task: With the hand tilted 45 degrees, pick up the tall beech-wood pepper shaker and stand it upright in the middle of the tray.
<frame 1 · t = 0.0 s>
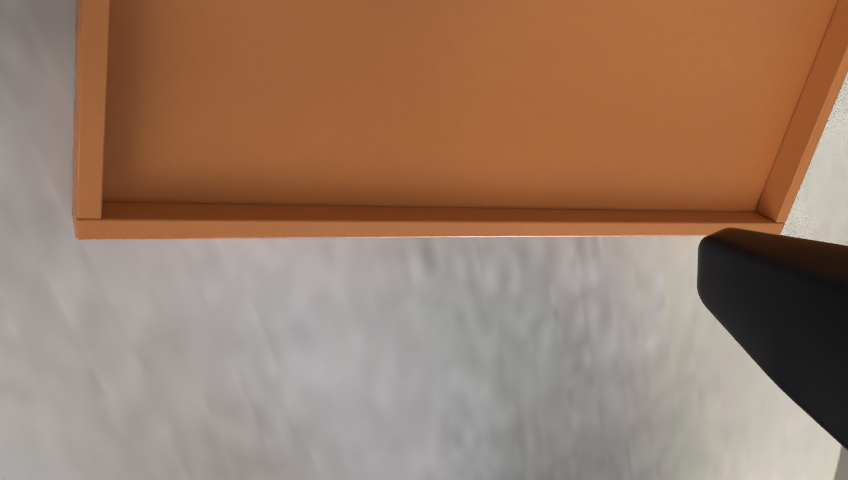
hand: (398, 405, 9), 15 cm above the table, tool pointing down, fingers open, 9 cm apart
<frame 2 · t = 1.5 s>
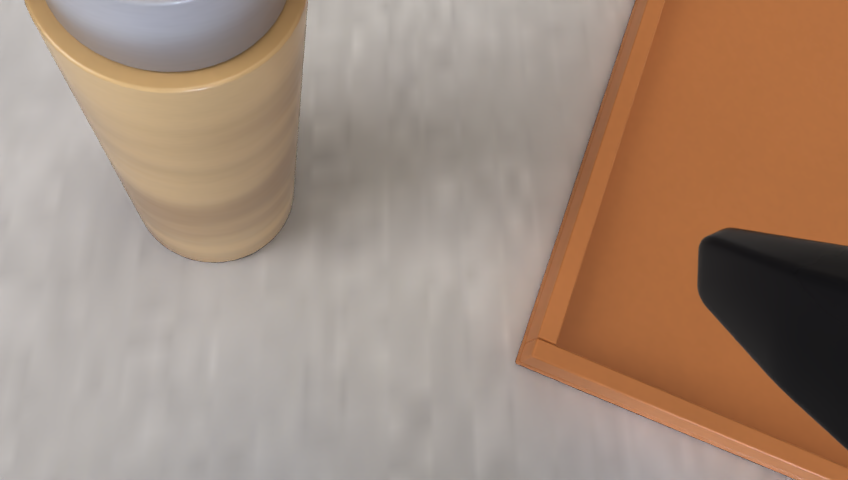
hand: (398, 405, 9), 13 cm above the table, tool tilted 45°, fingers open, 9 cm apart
shaker: (216, 188, 23), on the table
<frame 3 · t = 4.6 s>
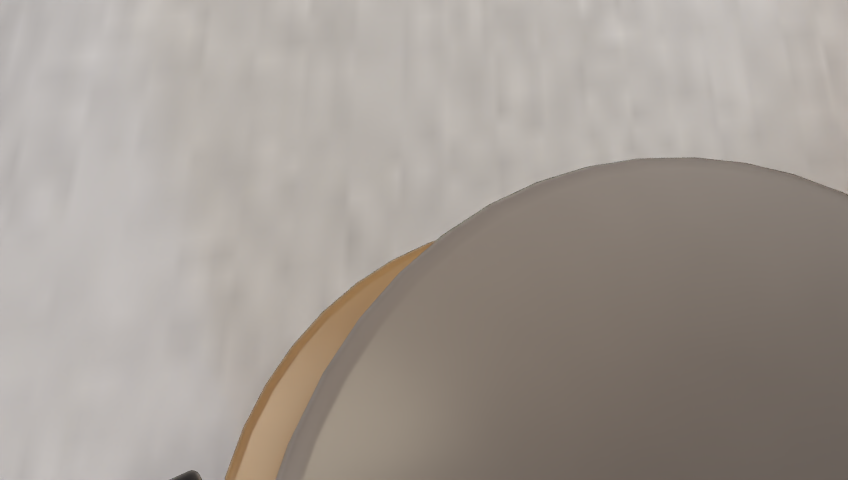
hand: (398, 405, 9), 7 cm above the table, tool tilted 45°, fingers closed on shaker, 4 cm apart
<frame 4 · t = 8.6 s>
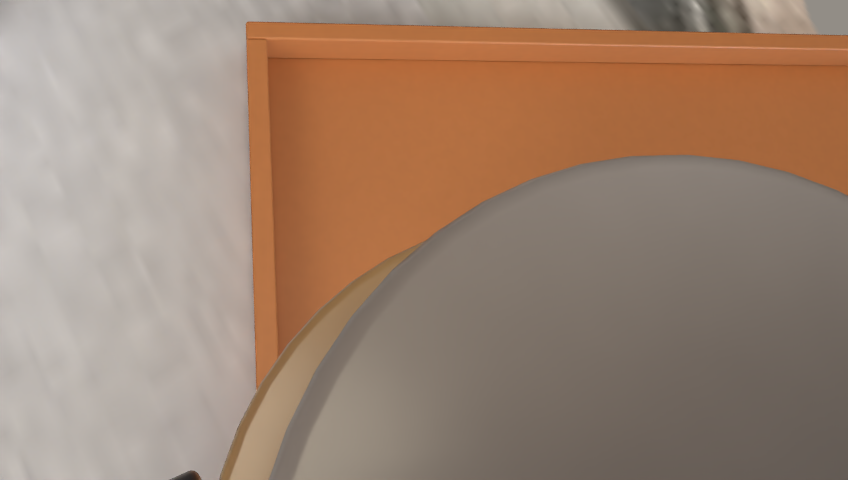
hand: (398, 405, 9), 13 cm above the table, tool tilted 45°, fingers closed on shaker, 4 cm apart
tray: (698, 383, 24), on the table
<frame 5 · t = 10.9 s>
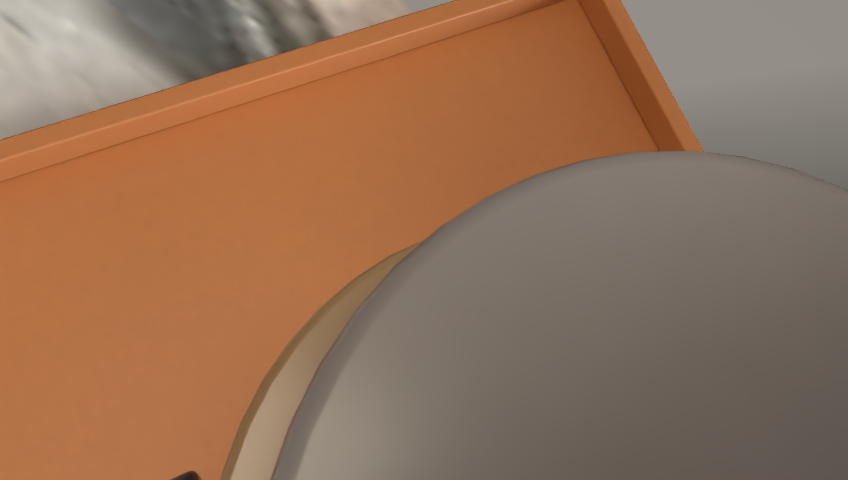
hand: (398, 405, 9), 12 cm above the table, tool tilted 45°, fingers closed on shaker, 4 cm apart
when the fingers open (7 cm above the table, at t = 12.6 s): shaker stays where it is, resting on tray.
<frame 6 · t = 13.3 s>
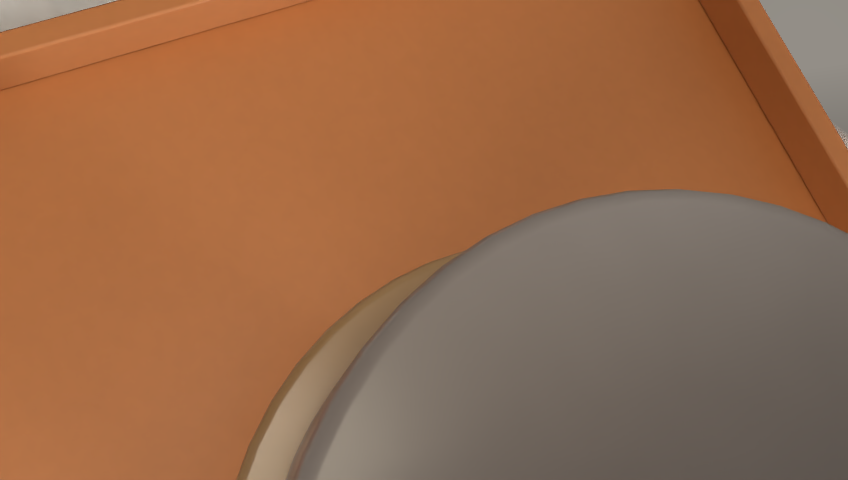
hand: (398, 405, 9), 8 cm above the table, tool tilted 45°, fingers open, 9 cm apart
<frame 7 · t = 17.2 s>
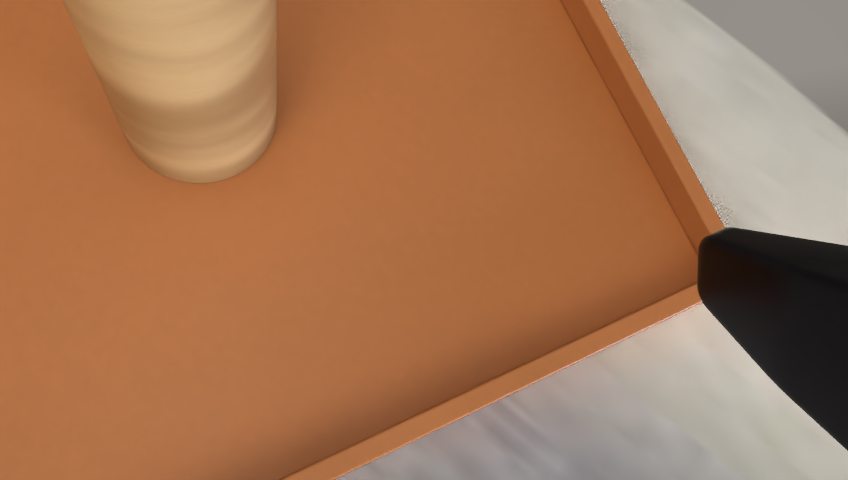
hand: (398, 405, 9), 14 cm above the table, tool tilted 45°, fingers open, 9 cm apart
tray: (202, 117, 24), on the table
shaker: (200, 113, 23), resting on tray
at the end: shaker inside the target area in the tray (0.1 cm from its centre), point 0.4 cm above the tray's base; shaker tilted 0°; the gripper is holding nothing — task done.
